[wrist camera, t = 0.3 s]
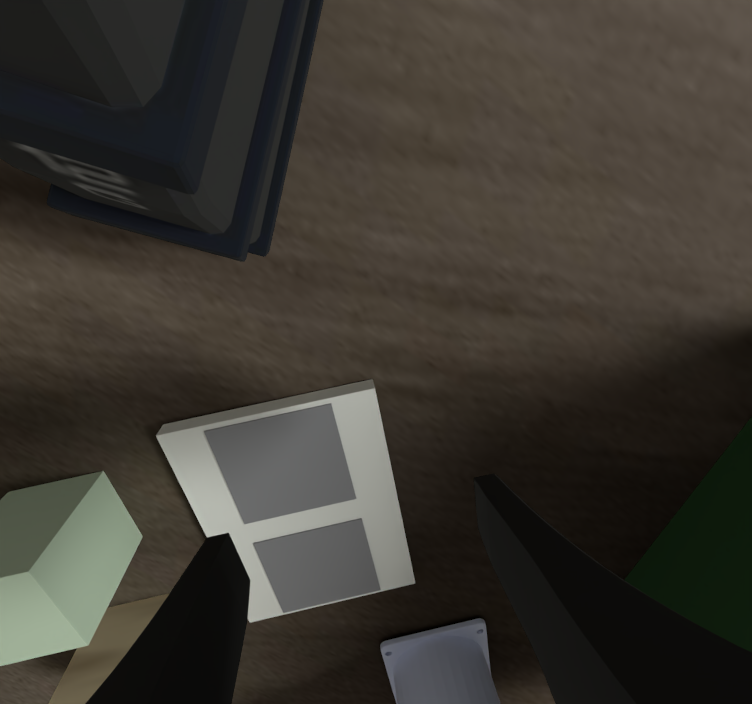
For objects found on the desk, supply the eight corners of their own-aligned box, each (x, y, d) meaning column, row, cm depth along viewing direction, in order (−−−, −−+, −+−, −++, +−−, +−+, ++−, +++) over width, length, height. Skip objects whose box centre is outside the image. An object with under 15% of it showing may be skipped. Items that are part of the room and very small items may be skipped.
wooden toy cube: (203, 637, 28) (174, 751, 22) (131, 655, 27) (84, 774, 22) (175, 591, 26) (136, 703, 20) (97, 609, 25) (35, 728, 20)
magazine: (164, 294, 16) (-732, -218, 2) (242, 1, 17) (50, -1847, 3) (257, 317, 17) (140, 86, 3) (326, 36, 18) (515, -1251, 4)
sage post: (142, 536, 23) (88, 645, 18) (57, 555, 23) (-25, 671, 18) (103, 470, 21) (28, 571, 16) (9, 491, 21) (-100, 600, 16)
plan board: (412, 569, 27) (415, 584, 26) (252, 607, 27) (249, 624, 26) (372, 378, 21) (374, 389, 20) (163, 424, 21) (155, 437, 20)
